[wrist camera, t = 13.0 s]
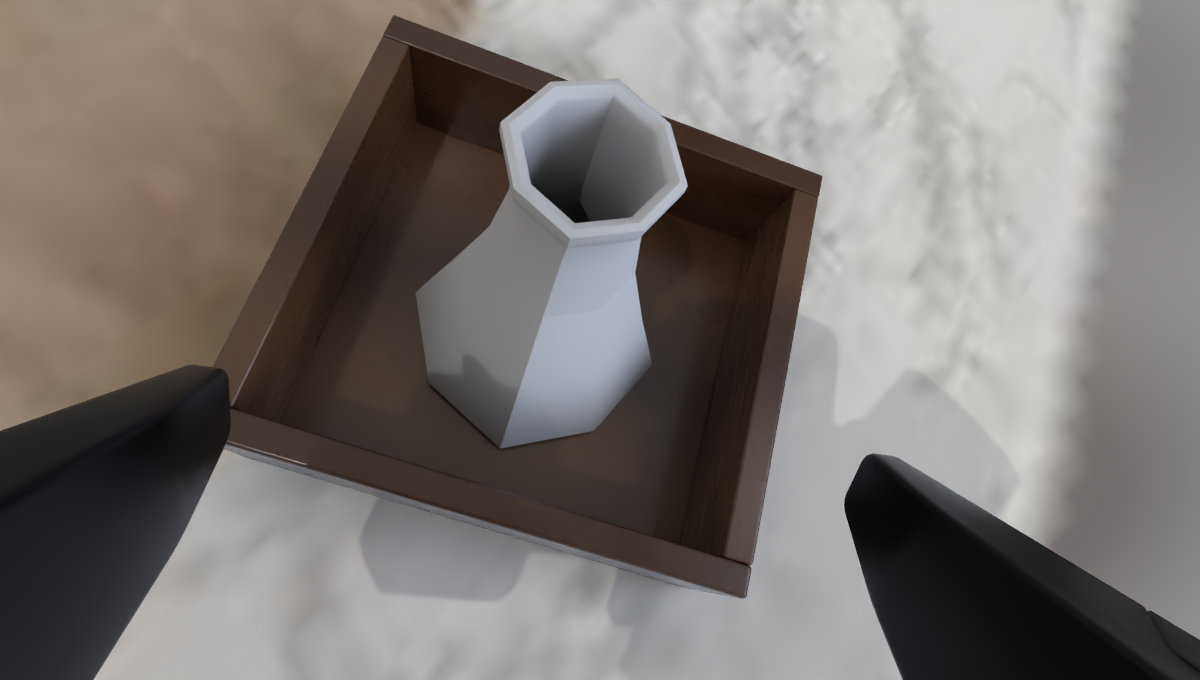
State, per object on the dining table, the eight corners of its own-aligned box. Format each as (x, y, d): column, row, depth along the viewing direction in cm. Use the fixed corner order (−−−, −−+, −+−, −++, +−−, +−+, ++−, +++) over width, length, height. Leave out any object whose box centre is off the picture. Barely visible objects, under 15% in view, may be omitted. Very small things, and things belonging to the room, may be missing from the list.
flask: (375, 284, 20) (297, 51, 10) (576, 197, 22) (658, -56, 13) (486, 492, 19) (509, 440, 9) (686, 378, 21) (865, 245, 12)
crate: (686, 588, 20) (747, 600, 16) (244, 456, 18) (178, 430, 14) (760, 239, 24) (823, 175, 20) (406, 112, 23) (393, 13, 19)
